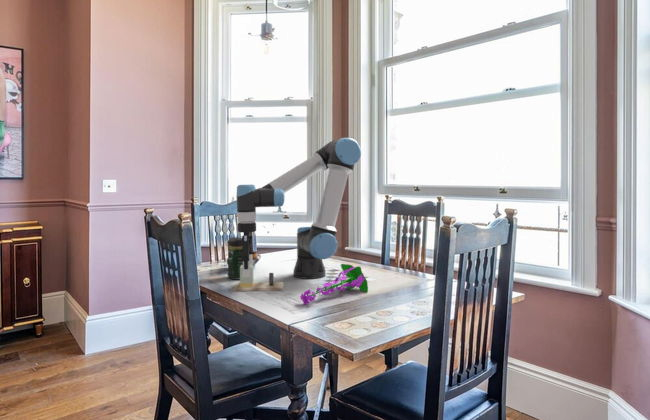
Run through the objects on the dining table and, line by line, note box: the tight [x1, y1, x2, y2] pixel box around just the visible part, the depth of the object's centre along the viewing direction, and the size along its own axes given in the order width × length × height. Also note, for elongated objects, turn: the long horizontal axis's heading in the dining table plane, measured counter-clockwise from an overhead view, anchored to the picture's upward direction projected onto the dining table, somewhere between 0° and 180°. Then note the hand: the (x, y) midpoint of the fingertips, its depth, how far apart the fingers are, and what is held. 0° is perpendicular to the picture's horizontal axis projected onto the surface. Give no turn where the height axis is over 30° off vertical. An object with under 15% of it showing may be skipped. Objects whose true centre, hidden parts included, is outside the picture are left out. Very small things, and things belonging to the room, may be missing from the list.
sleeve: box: [239, 265, 255, 287], centre depth 175 cm, size 5×5×8 cm
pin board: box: [232, 272, 284, 292], centre depth 176 cm, size 20×10×6 cm, turn 95°
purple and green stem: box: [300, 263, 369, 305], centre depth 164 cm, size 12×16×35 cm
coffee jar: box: [227, 236, 243, 280], centre depth 194 cm, size 10×8×19 cm
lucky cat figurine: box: [226, 250, 262, 268], centre depth 212 cm, size 15×12×14 cm
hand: (248, 273), depth 176 cm, fingers open, 13 cm apart
